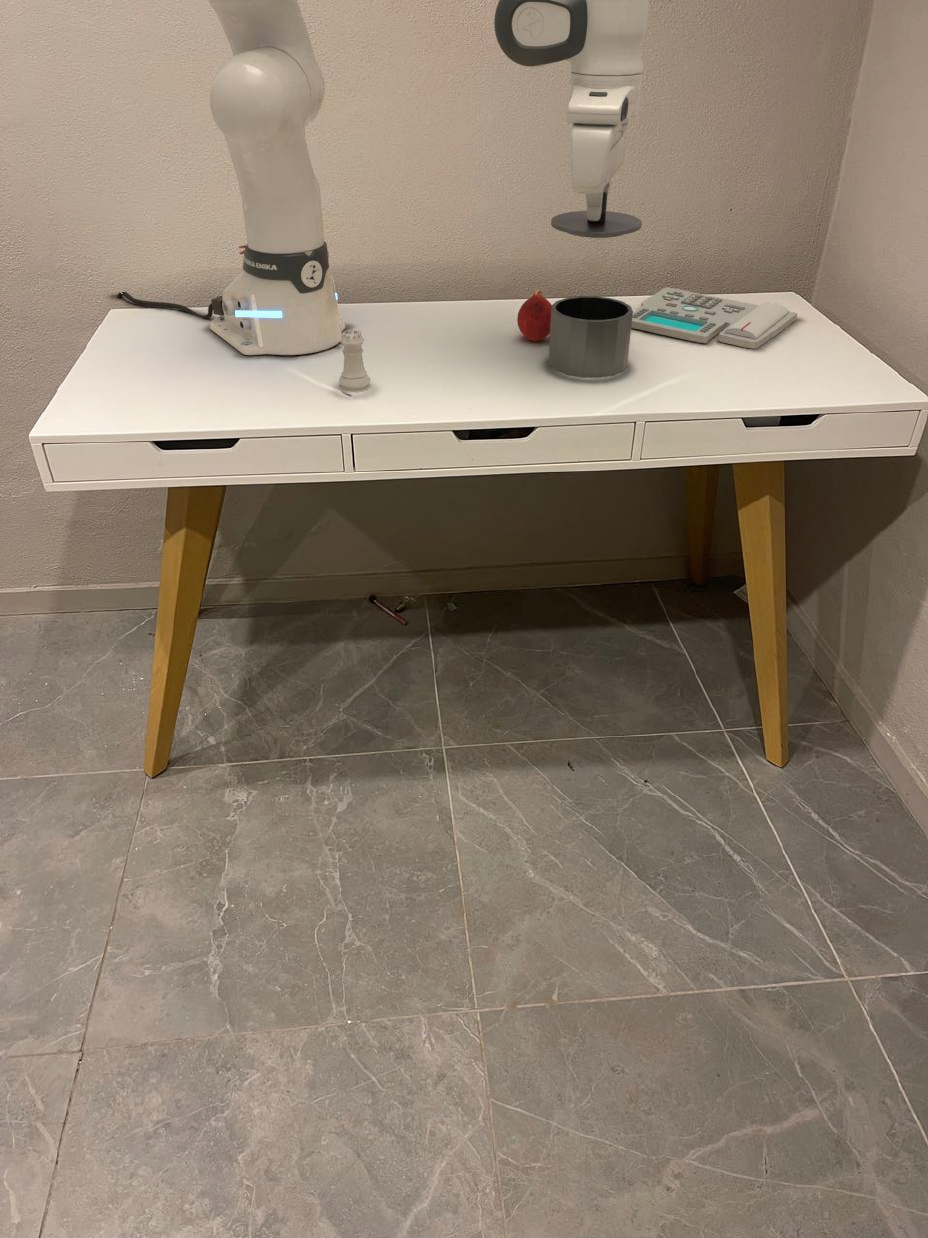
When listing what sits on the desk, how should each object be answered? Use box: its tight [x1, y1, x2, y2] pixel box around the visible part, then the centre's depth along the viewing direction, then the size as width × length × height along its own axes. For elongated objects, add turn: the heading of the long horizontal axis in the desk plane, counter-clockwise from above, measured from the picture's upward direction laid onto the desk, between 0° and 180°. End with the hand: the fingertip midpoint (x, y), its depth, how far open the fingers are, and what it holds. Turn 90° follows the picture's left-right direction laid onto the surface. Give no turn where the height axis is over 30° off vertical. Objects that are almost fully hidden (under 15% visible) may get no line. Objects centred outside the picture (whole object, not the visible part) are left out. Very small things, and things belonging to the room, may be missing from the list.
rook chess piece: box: [338, 329, 372, 397], centre depth 130 cm, size 4×4×8 cm
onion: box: [516, 289, 553, 343], centre depth 146 cm, size 6×6×8 cm
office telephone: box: [631, 286, 798, 350], centre depth 155 cm, size 23×3×20 cm
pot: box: [547, 295, 634, 379], centre depth 138 cm, size 11×11×8 cm
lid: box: [550, 192, 643, 239], centre depth 128 cm, size 12×12×5 cm
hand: (596, 216), depth 128 cm, fingers closed on lid, 2 cm apart
